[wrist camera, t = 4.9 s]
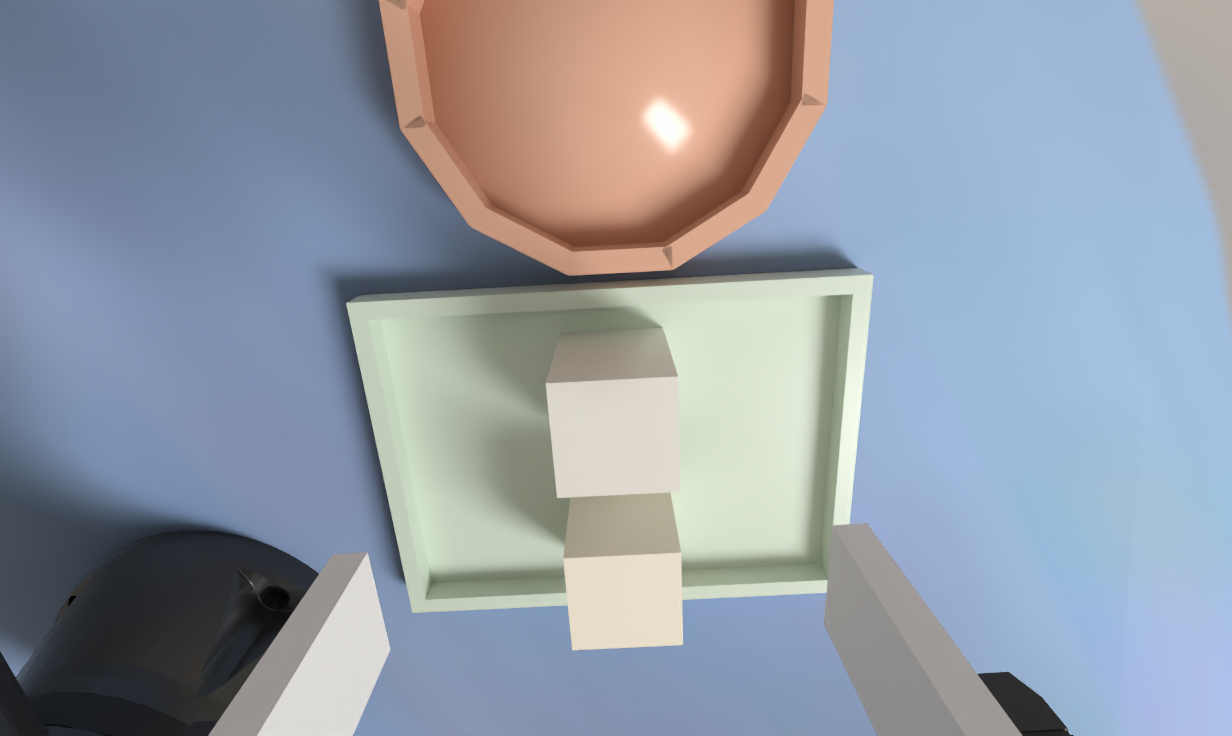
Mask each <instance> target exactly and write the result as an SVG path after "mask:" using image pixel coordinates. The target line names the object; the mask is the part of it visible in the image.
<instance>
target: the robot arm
mask: <svg viewBox="0 0 1232 736" xmlns="http://www.w3.org/2000/svg"><path fill="white" fill-rule="evenodd" d="M824 625H825V627H826V629H827V631H828V634H829V636H830V638H831V640H832V642H833V644H834V646H835V648H836V650H837V652H838V654H839V656H840V659H841V661H842V663H843V665H844V667H845V669H846V671H847V673H848V675H849V677H850V679H851V681H852V684H853V686H854V688H855V690H856V692H857V694H858V696H859V698H860V700H861V702H862V704H863V706H864V709H865V711H866V713H867V715H868V717H869V719H870V721H871V723H872V725H873V727H874V729H875V731H876V734H877V736H1073V735H1070V734H1069V733H1068V728H1067V727H1066V726H1065V725H1064V724H1063V722H1062V721H1061V720H1060V719H1059V717H1058V716H1057V715H1056V714H1055V713H1054V711H1053V710H1052V709H1051V708H1050V707H1049V705H1048V704H1047V703H1046V702H1045V700H1044V699H1043V698H1042V697H1041V696H1039V695H1038V694H1037V693H1035V692H1034V691H1033V690H1032V689H1030V688H1029V687H1028V686H1026V685H1025V684H1024V683H1022V682H1021V681H1020V680H1018V679H1017V678H1016V677H1014V676H1013V675H1012V674H1011V673H1009V672H999V673H982V674H977V673H976V672H975V670H974V669H973V668H972V666H971V665H970V664H969V662H968V661H967V659H966V658H965V657H964V655H963V654H962V653H961V651H960V650H959V648H958V647H957V646H956V644H955V643H954V642H953V640H952V639H951V638H950V636H949V635H948V633H947V632H946V631H945V629H944V628H943V627H942V625H941V624H940V623H939V621H938V620H937V618H936V617H935V616H934V614H933V613H932V612H931V610H930V609H929V608H928V606H927V605H926V603H925V602H924V601H923V599H922V598H921V597H920V595H919V594H918V593H917V591H916V590H915V588H914V587H913V586H912V584H911V583H910V582H909V580H908V579H907V578H906V576H905V575H904V573H903V572H902V571H901V569H900V568H899V567H898V565H897V564H896V562H895V561H894V560H893V558H892V557H891V556H890V554H889V553H888V552H887V550H886V549H885V547H884V546H883V545H882V543H881V542H880V541H879V539H878V538H877V537H876V535H875V534H874V532H873V531H872V530H871V528H870V527H869V526H868V524H867V523H864V524H847V525H832V535H831V547H830V559H829V570H828V582H827V594H826V605H825V617H824ZM389 651H390V646H389V641H388V637H387V633H386V629H385V625H384V620H383V616H382V612H381V608H380V603H379V599H378V595H377V591H376V586H375V582H374V578H373V574H372V569H371V565H370V561H369V557H368V552H365V553H348V554H333V555H332V556H331V558H330V559H329V561H328V562H327V564H326V565H325V566H324V568H323V569H322V571H321V572H320V574H319V573H317V572H316V571H315V570H313V569H312V568H310V567H309V566H308V565H306V564H304V563H303V562H301V561H300V560H298V559H296V558H295V557H293V556H291V555H289V554H287V553H285V552H283V551H281V550H279V549H277V548H274V547H272V546H269V545H267V544H264V543H261V542H259V541H256V540H252V539H249V538H245V537H242V536H237V535H233V534H227V533H221V532H212V531H176V532H168V533H162V534H157V535H153V536H149V537H146V538H143V539H140V540H138V541H135V542H133V543H131V544H128V545H126V546H124V547H123V548H121V549H119V550H118V551H116V552H115V553H113V554H112V555H111V556H109V557H108V558H107V559H105V560H104V561H103V562H102V563H100V564H99V565H98V566H97V567H95V568H94V569H93V570H92V571H90V572H89V573H88V574H87V575H86V576H85V577H84V578H83V579H82V580H81V581H80V582H79V584H78V585H77V586H76V587H75V588H74V589H73V591H72V592H71V593H70V595H69V597H68V598H67V600H66V602H65V603H64V605H63V607H62V608H61V610H60V612H59V614H58V617H57V620H56V623H55V625H54V626H53V627H52V629H51V630H50V631H49V633H48V634H47V636H46V637H45V638H44V640H43V641H42V642H41V644H40V645H39V646H38V648H37V649H36V651H35V652H34V653H33V655H32V656H31V658H30V659H29V660H28V662H27V663H26V664H25V666H24V667H23V668H22V670H21V671H20V673H19V674H18V675H17V677H15V676H14V674H13V672H12V671H11V669H10V667H9V666H8V664H7V662H6V660H5V659H4V657H3V655H2V654H1V652H0V736H353V734H354V732H355V730H356V727H357V725H358V723H359V720H360V718H361V716H362V713H363V711H364V709H365V707H366V704H367V702H368V700H369V697H370V695H371V693H372V690H373V688H374V686H375V684H376V681H377V679H378V677H379V674H380V672H381V670H382V667H383V665H384V663H385V661H386V658H387V656H388V654H389Z"/></svg>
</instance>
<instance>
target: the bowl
mask: <svg viewBox="0 0 1232 736" xmlns="http://www.w3.org/2000/svg"><path fill="white" fill-rule="evenodd" d="M379 5H380V11H381V17H382V23H383V29H384V35H385V41H386V47H387V53H388V59H389V65H390V71H391V77H392V83H393V89H394V96H395V102H396V108H397V114H398V120H399V126H400V128H401V131H402V133H403V134H404V135H405V137H406V138H407V139H408V141H409V142H410V144H411V145H412V146H413V148H414V149H415V151H416V152H417V153H418V155H419V156H420V158H421V159H422V160H423V162H424V163H425V165H426V166H427V167H428V169H429V170H430V171H431V173H432V174H433V176H434V177H435V178H436V180H437V181H438V183H439V184H440V185H441V187H442V188H443V190H444V191H445V192H446V194H447V195H448V197H449V198H450V199H451V201H452V202H453V203H454V205H455V206H456V208H457V209H458V210H459V212H460V213H461V215H462V216H463V217H464V219H465V220H466V222H467V223H468V224H469V226H471V228H473V229H475V230H477V231H479V232H481V233H483V234H485V235H487V236H489V237H491V238H493V239H495V240H497V241H499V242H501V243H503V244H505V245H508V246H510V247H512V248H514V249H516V250H518V251H520V252H522V253H524V254H526V255H528V256H530V257H532V258H534V259H536V260H538V261H540V262H542V263H544V264H546V265H548V266H550V267H552V268H554V269H556V270H558V271H560V272H562V273H564V274H566V275H568V274H569V276H572V275H591V274H609V273H628V272H646V271H665V270H674V269H676V268H677V267H679V266H680V265H682V264H683V263H685V262H687V261H688V260H690V259H691V258H693V257H694V256H696V255H698V254H699V253H701V252H702V251H704V250H705V249H707V248H709V247H710V246H712V245H713V244H715V243H716V242H718V241H720V240H721V239H723V238H724V237H726V236H727V235H729V234H730V233H732V232H734V231H735V230H737V229H738V228H740V227H741V226H743V225H745V224H746V223H748V222H749V221H751V220H752V219H754V218H756V217H757V216H759V215H760V214H762V213H763V212H765V210H767V208H768V207H769V205H770V203H771V201H772V200H773V198H774V196H775V194H776V193H777V191H778V189H779V188H780V186H781V184H782V182H783V181H784V179H785V177H786V175H787V174H788V172H789V170H790V168H791V167H792V165H793V163H794V161H795V160H796V158H797V156H798V155H799V153H800V151H801V149H802V148H803V146H804V144H805V142H806V141H807V139H808V137H809V135H810V134H811V132H812V130H813V129H814V127H815V125H816V123H817V122H818V120H819V118H820V116H821V115H822V113H823V111H824V109H825V108H826V106H827V105H826V104H827V98H828V83H829V67H830V52H831V36H832V20H833V5H834V0H379Z"/></svg>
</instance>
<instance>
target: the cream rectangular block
mask: <svg viewBox="0 0 1232 736" xmlns="http://www.w3.org/2000/svg"><path fill="white" fill-rule="evenodd" d="M563 562H564V572H565V582H566V592H567V602H568V612H569V622H570V632H571V641H572V650H588V649H609V648H630V647H650V646H671V645H683V620H682V563H681V548H680V543H679V537H678V532H677V526H676V521H675V515H674V509H673V504H672V498H671V493H670V492H668V493H648V494H628V495H609V496H589V497H570V505H569V514H568V522H567V531H566V539H565V547H564V556H563Z"/></svg>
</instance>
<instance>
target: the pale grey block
mask: <svg viewBox="0 0 1232 736" xmlns="http://www.w3.org/2000/svg"><path fill="white" fill-rule="evenodd" d="M546 392H547V402H548V412H549V422H550V432H551V442H552V452H553V462H554V472H555V482H556V492H557V498H569V497H589V496H609V495H628V494H648V493H668V492H680V449H679V392H678V374H677V371H676V368H675V365H674V361H673V358H672V355H671V352H670V349H669V346H668V342H667V339H666V336H665V333H664V330H663V327H662V328H643V329H624V330H605V331H586V332H568V333H560V336H559V339H558V343H557V346H556V350H555V353H554V356H553V360H552V363H551V367H550V370H549V373H548V377H547V380H546Z"/></svg>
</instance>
